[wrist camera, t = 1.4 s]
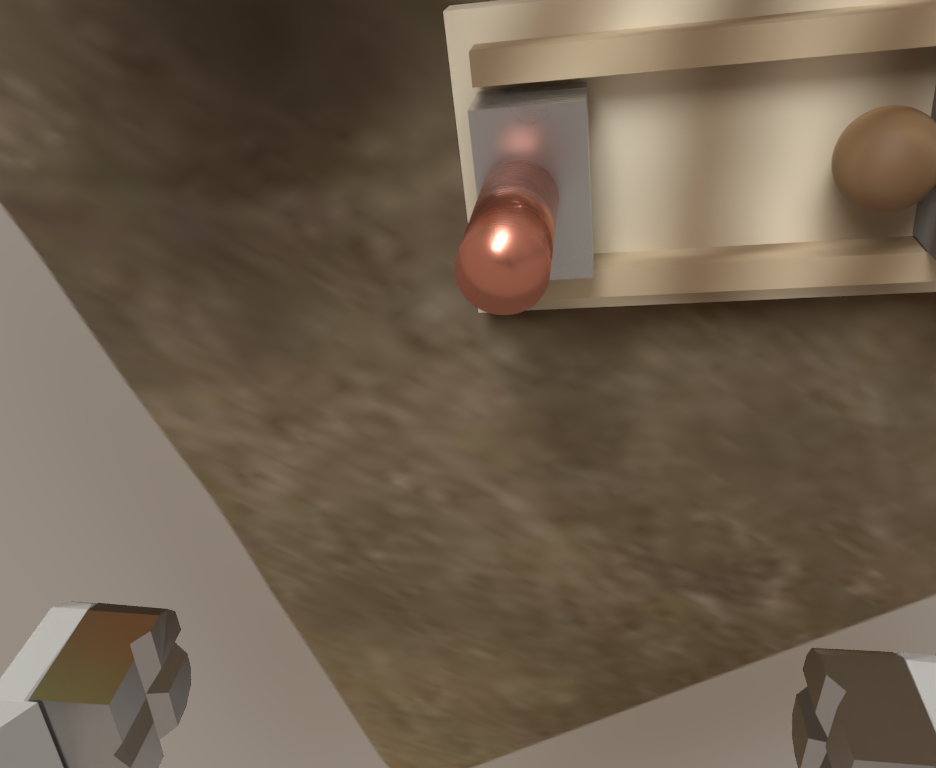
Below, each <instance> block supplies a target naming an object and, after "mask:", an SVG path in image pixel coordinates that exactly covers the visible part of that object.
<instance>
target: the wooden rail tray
mask: <svg viewBox="0 0 936 768" xmlns="http://www.w3.org/2000/svg"><path fill="white" fill-rule="evenodd" d="M443 15H444V23H445V32H446V40H447V49H448V57H449V66H450V74H451V83H452V91H453V100H454V108H455V117H456V125H457V134H458V142H459V151H460V159H461V168H462V176H463V185H464V193H465V202H466V210H467V219H468V223H469V220H470V218H471V215H472V212H473V209H474V207H475V204H476V201H477V192H476V183H475V174H474V165H473V156H472V147H471V138H470V128H469V119H468V109H469V107H470V105H471V103H472V101H473V100H474V98H475V96H476V94H477V92H478V91H486V90H497V89H508V88H519V87H530V86H542V85H553V84H564V83H575V82H586V81H587V93H588V117H589V141H590V166H591V190H592V214H593V238H594V278H580V279H561V280H549V283H548V287H547V289H546V291H545V293H544V294H543V296H542V297H541V299H540V300H539V301H538V302H537V303H536V304H535V305H533V306H532V307H530V308H529V309H527V310H547V309H569V308H591V307H613V306H635V305H657V304H679V303H701V302H723V301H745V300H767V299H789V298H811V297H833V296H855V295H877V294H899V293H921V292H936V187H935V188H934V189H933V190H932V191H931V192H930V193H929V194H928V195H927V196H926V197H925V198H924V199H922V200H921V201H919V202H918V203H916V204H915V205H913V206H910V207H908V208H906V209H903V210H900V211H896V212H889V213H877V212H870V211H867V210H864V209H861V208H859V207H857V206H855V205H853V204H852V203H850V202H849V201H848V200H847V199H846V198H845V197H844V196H843V195H842V194H841V193H840V191H839V190H838V188H837V186H836V184H835V182H834V179H833V175H832V167H831V164H832V155H833V151H834V148H835V145H836V143H837V141H838V139H839V137H840V135H841V134H842V132H843V131H844V130H845V129H846V127H847V126H848V125H849V124H850V123H851V122H853V121H854V120H855V119H856V118H858V117H859V116H861V115H862V114H864V113H866V112H868V111H871V110H873V109H876V108H879V107H883V106H890V105H900V106H908V107H912V108H915V109H918V110H920V111H922V112H924V113H925V114H927V115H929V116H930V117H931V118H932V119H933V120H934V121H935V122H936V0H497V1H488V2H479V3H469V4H460V5H450V6H448V7H447V8H446V9H445V10H444V11H443ZM478 312H479V313H481V312H485V311H482V310H480V309H478Z"/></svg>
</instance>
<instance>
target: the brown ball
mask: <svg viewBox="0 0 936 768" xmlns="http://www.w3.org/2000/svg"><path fill="white" fill-rule="evenodd" d="M831 167H832V175H833V179H834V182H835V184H836V186H837V188H838V190H839V191H840V193H841V194H842V195H843V196H844V197H845V198H846V199H847V200H848V201H849V202H850V203H852V204H853V205H855V206H857V207H859V208H861V209H864V210H867V211H870V212H877V213H889V212H896V211H900V210H903V209H906V208H908V207H910V206H913V205H915V204H916V203H918V202H919V201H921V200H922V199H924V198H925V197H926V196H927V195H928V194H929V193H930V192H931V191H932V190H933V189H934V188H935V187H936V122H935V121H934V120H933V119H932V118H931V117H930V116H929V115H927V114H925V113H924V112H922V111H920V110H918V109H915V108H912V107H908V106H900V105H890V106H883V107H879V108H876V109H873V110H871V111H868V112H866V113H864V114H862V115H861V116H859V117H858V118H856V119H855V120H854V121H853V122H851V123H850V124H849V125H848V126H847V127H846V129H845V130H844V131H843V132H842V134H841V135H840V137H839V139H838V141H837V143H836V145H835V148H834V151H833V155H832V164H831Z"/></svg>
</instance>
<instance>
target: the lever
mask: <svg viewBox="0 0 936 768" xmlns="http://www.w3.org/2000/svg"><path fill="white" fill-rule="evenodd" d="M468 119H469V128H470V138H471V147H472V156H473V165H474V174H475V183H476V192H477V201H476V204H475V207H474V209H473V212H472V215H471V218H470V220H469V223H468V226H467V229H466V232H465V234H464V237H463V240H462V243H461V245H460V248H459V251H458V254H457V256H456V260H455V268H454V270H455V278H456V282H457V285H458V287H459V289H460V291H461V293H462V294H463V296H464V297H465V298H466V299H467V300H468V301H469V302H470V303H471V304H472V305H474V306H475V307H477V308H478V309H480V310H482V311H485V312H487V313H491V314H496V315H513V314H517V313H520V312H523V311H525V310H527V309H529V308H530V307H532V306H533V305H535V304H536V303H537V302H538V301H539V300H540V299H541V297H542V296H543V294H544V293H545V291H546V289H547V287H548V283H549V280H561V279H580V278H594V238H593V214H592V190H591V166H590V141H589V117H588V93H587V81H586V82H575V83H564V84H553V85H542V86H530V87H519V88H508V89H497V90H486V91H478V92H477V94H476V96H475V98H474V100H473V101H472V103H471V105H470V107H469V109H468Z"/></svg>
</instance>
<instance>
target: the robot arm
mask: <svg viewBox="0 0 936 768" xmlns="http://www.w3.org/2000/svg"><path fill="white" fill-rule="evenodd" d="M180 631H181V628H180V625H179V622H178V618H177V615H176V612H175V611H172V610H168V609H161V608H148V607H138V606H127V605H116V604H103V603H86V602H74V601H61V602H60V603H58V604H56V605H55V606H53V607H52V608H51V609H50V610H49V611H48V613H47V614H46V615H45V617H44V618H43V620H42V621H41V623H40V624H39V625H38V627H37V628H36V630H35V631H34V632H33V634H32V635H31V636H30V638H29V639H28V640H27V642H26V643H25V645H24V646H23V647H22V649H21V650H20V652H19V653H18V654H17V656H16V657H15V659H14V660H13V661H12V663H11V664H10V666H9V667H8V669H7V670H6V671H5V673H4V674H3V675H2V677H1V678H0V768H158V767H159V765H160V763H161V761H162V759H163V756H164V755H163V751H162V748H161V744H160V741H159V740H160V739H161V738H162V737H164V736H165V735H166V734H168V733H169V732H170V731H172V730H173V729H174V728H175V727H177V726H178V724H179V722H180V720H181V717H182V715H183V713H184V710H185V708H186V705H187V700H188V696H189V691H190V686H191V667H190V663H189V658H188V655H187V653H186V652H185V651H184V650H183V649H182V648H180V647H179V646H178V645H177V644H176V643H175V641H176V638H177V637H178V634H179V633H180ZM803 672H804V675H805V678H806V682H807V685H808V686H807V687H806V688H805V689H803V690H802V691H801V692H799V693H798V694H797V695H796V699H795V704H794V709H793V714H792V737H793V745H794V752H795V757H796V761H797V765H798V768H936V655H933V654H914V653H893V652H881V651H860V650H842V649H822V648H812V649H811V650H810V651H809V653H808V654H807V656H806V660H805V663H804V667H803Z"/></svg>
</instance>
